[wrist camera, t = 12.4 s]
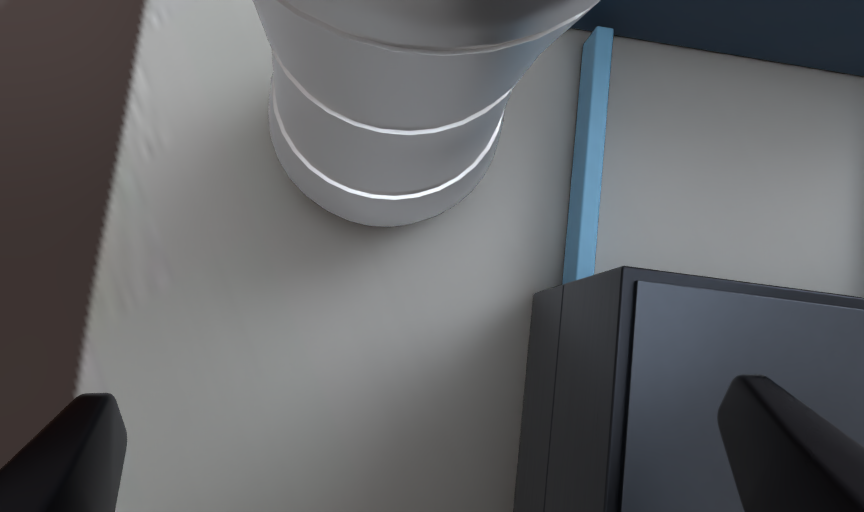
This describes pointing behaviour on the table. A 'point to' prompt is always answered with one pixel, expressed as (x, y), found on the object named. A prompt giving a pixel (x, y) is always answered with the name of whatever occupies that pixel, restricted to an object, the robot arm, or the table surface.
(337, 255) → the table surface
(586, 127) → the pull-out drawer
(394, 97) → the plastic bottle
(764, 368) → the black drawer housing
